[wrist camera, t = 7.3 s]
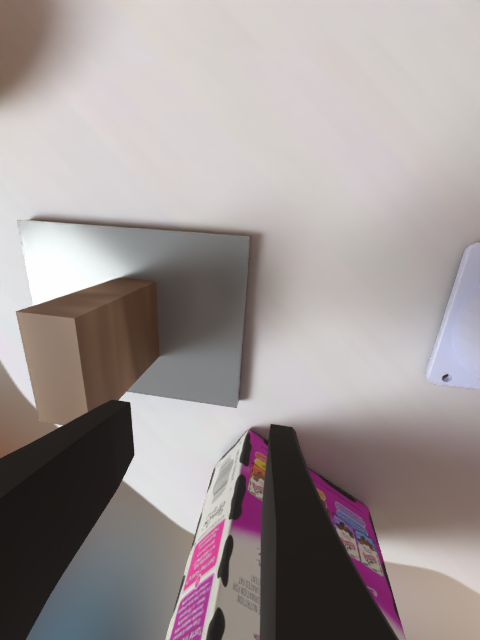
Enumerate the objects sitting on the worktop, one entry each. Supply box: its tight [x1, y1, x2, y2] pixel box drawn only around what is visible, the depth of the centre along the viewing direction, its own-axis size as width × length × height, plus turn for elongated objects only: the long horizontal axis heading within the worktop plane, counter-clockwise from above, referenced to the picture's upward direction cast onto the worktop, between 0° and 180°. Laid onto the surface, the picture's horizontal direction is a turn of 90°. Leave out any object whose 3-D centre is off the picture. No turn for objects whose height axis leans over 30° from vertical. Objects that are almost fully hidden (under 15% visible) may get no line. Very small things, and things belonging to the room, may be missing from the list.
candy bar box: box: [165, 430, 406, 640], centre depth 14 cm, size 11×5×16 cm, turn 56°
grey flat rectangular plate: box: [17, 220, 250, 408], centre depth 18 cm, size 14×11×1 cm
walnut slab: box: [16, 278, 159, 425], centre depth 15 cm, size 2×5×7 cm, turn 176°
